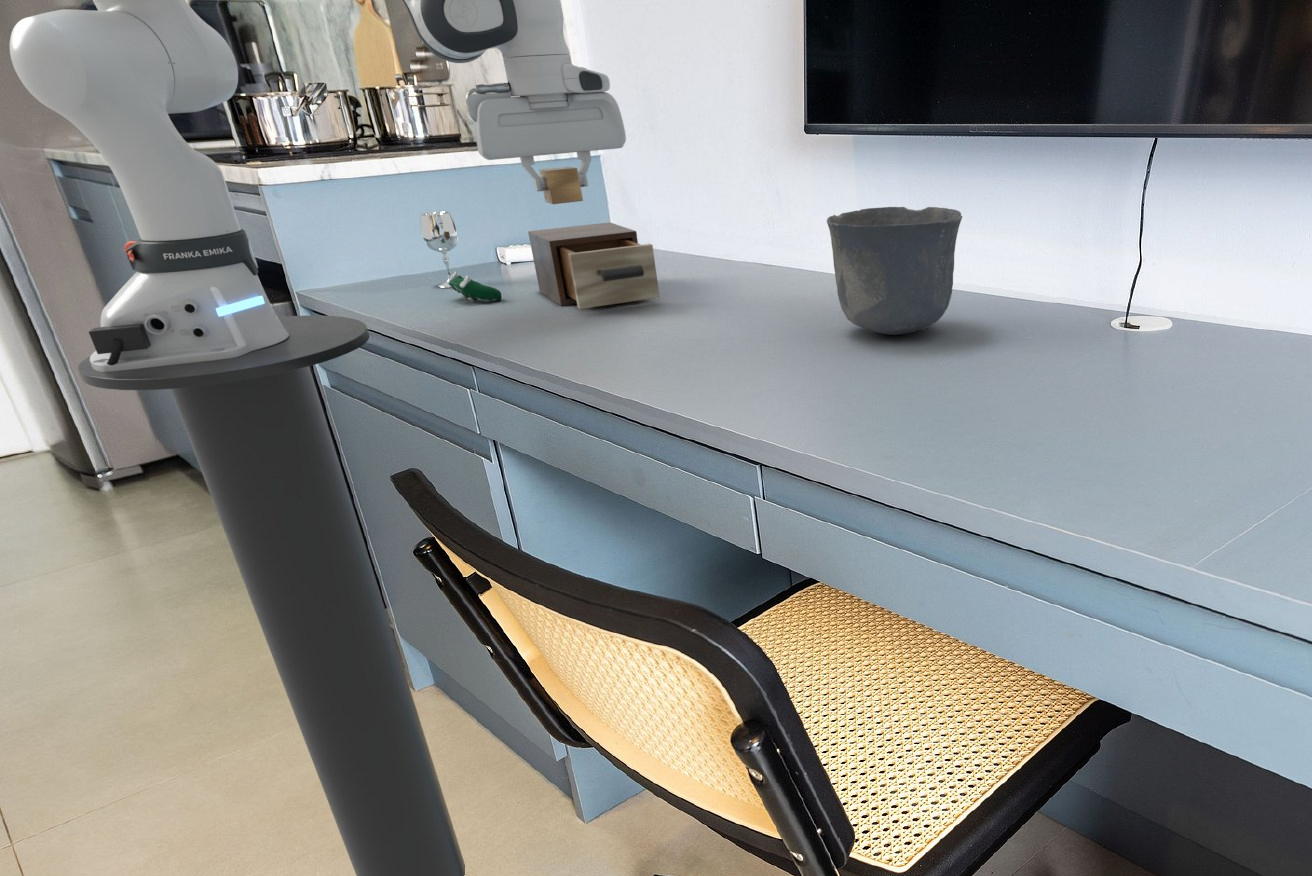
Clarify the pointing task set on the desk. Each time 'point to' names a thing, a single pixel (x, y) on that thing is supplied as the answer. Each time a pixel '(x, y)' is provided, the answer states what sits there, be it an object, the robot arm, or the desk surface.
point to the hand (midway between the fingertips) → (562, 188)
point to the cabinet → (550, 238)
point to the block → (562, 185)
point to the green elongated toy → (473, 289)
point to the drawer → (608, 272)
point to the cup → (894, 266)
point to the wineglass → (439, 235)
